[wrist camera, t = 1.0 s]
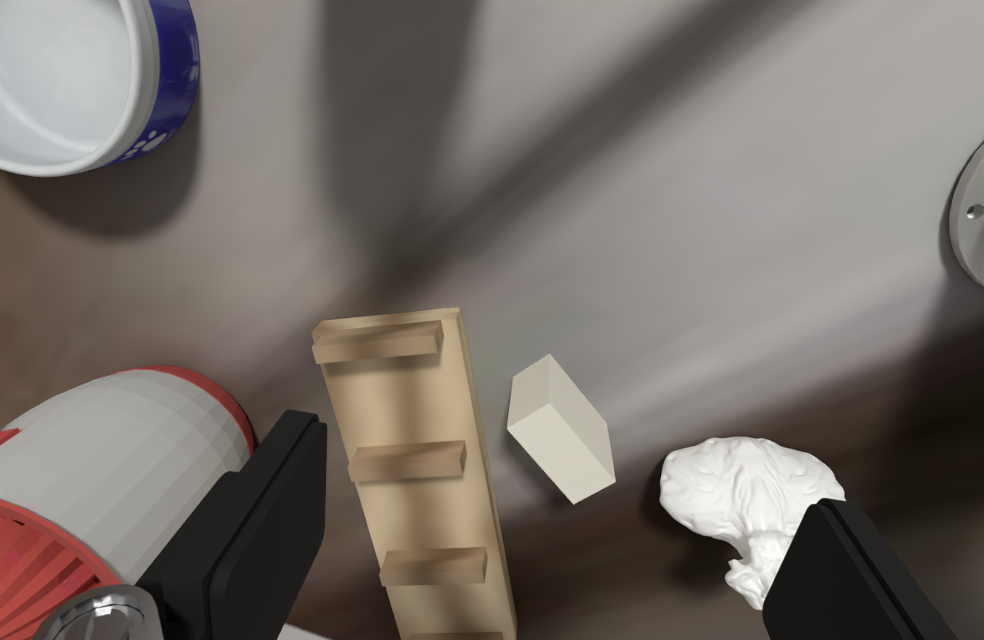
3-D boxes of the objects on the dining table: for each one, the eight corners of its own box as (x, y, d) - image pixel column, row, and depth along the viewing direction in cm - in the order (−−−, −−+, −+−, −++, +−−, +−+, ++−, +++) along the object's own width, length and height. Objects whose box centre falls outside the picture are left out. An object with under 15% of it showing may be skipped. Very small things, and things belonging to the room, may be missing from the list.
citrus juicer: (178, 284, 41) (-128, 458, 22) (319, 467, 46) (165, 729, 28) (32, 369, 45) (-326, 575, 26) (177, 528, 50) (-39, 790, 32)
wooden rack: (460, 306, 39) (449, 333, 35) (517, 621, 51) (514, 668, 47) (322, 320, 41) (296, 348, 37) (407, 623, 52) (395, 669, 48)
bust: (645, 451, 45) (659, 612, 40) (660, 419, 38) (679, 607, 33) (806, 453, 44) (844, 621, 38) (851, 420, 37) (904, 617, 32)
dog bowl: (48, -195, 30) (-64, -255, 25) (255, 59, 34) (199, 56, 29) (-90, 6, 35) (-210, -6, 29) (106, 208, 39) (33, 231, 34)
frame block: (549, 353, 40) (549, 402, 34) (606, 423, 42) (615, 481, 36) (511, 377, 41) (504, 429, 35) (568, 445, 43) (571, 505, 37)
